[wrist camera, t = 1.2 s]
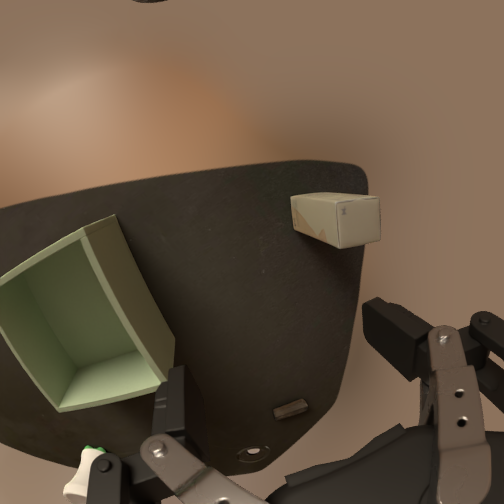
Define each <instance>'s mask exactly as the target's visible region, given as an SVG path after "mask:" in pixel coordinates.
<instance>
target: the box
mask: <svg viewBox="0 0 504 504" xmlns="http://www.w3.org/2000/svg"><path fill="white" fill-rule="evenodd" d="M291 209H292V218H293V226H294V230H296V231H299V232H301V233H304V234H306V235H309V236H311V237H313V238H316V239H318V240H320V241H323V242H325V243H328V244H330V245H332V246H334V247H337V248H339V249H342V248H348V247H354V246H359V245H364V244H368V243H372V242H376V241H380V237H381V219H380V198H379V197H377V196H368V195H356V194H343V193H328V192H322V193H311V194H303V195H296V196H291Z"/></svg>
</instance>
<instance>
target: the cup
mask: <svg viewBox="0 0 504 504" xmlns="http://www.w3.org/2000/svg"><path fill="white" fill-rule="evenodd" d="M103 453H106V451H105V450H104V449H103V448H101V447H99V448H97V449H93V448H92V447H91V446H86V447H85V448H84V450H83V451H82V455H81V463H80V466H79V469H78V471H77V473H76V474H75V476H74V478H73V479H72V480H71V481H70V482H69V483H67V484H66V485H65V488H64V491H63V495H64V497H65V498H66V499H67V500H68V501H70V502H71V503H73V504H86V499H87V489H88V481H89V473H90V467H91V464H92V462H93V460H94V459H95V458H96V457H97V456H99V455H101V454H103Z"/></svg>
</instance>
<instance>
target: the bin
mask: <svg viewBox="0 0 504 504" xmlns="http://www.w3.org/2000/svg"><path fill="white" fill-rule="evenodd" d="M0 332H1V334H2V336H3V337H4V339H5V341H6V342H7V344H8V345H9V347H10V349H11V350H12V352H13V353H14V355H15V356H16V358H17V359H18V361H19V362H20V364H21V365H22V367H23V368H24V370H25V371H26V372H27V374H28V375H29V376H30V378H31V379H32V380H33V382H34V383H35V384H36V386H37V387H38V388H39V389H40V391H41V392H42V393H43V394H44V396H45V397H46V398H47V399H48V400H49V402H50V403H51V404H52V405H53V406H54V407H55V409H56V410H57V411H58V412H66V411H72V410H78V409H83V408H88V407H93V406H98V405H103V404H108V403H112V402H117V401H121V400H125V399H129V398H133V397H137V396H141V395H145V394H148V393H152V392H156V390H157V389H158V387H159V385H160V384H161V382H165V381H168V371H169V369H170V368H173V362H174V349H175V337H174V335H173V334H172V332H171V330H170V328H169V327H168V325H167V323H166V321H165V319H164V318H163V316H162V314H161V312H160V310H159V308H158V307H157V305H156V303H155V301H154V299H153V297H152V295H151V293H150V291H149V289H148V287H147V285H146V283H145V281H144V279H143V277H142V275H141V273H140V271H139V269H138V267H137V264H136V262H135V260H134V258H133V256H132V253H131V251H130V249H129V247H128V245H127V242H126V240H125V238H124V235H123V233H122V231H121V228H120V226H119V223H118V221H117V218H116V216H115V215H113V216H110V217H107V218H105V219H102V220H100V221H97V222H95V223H92V224H90V225H87V226H85V227H82V228H81V229H79V230H77V231H75V232H73V233H71V234H70V235H68V236H66V237H64V238H63V239H61V240H59V241H57V242H56V243H54V244H52V245H50V246H49V247H47V248H45V249H44V250H42V251H40V252H39V253H37V254H36V255H34V256H32V257H31V258H29V259H28V260H26V261H25V262H23V263H21V264H20V265H18V266H17V267H15V268H14V269H12V270H11V271H9V272H8V273H6V274H5V275H4V276H2V277H1V278H0Z"/></svg>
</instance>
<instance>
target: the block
mask: <svg viewBox="0 0 504 504" xmlns="http://www.w3.org/2000/svg"><path fill="white" fill-rule="evenodd" d="M307 409H308V405H307V403H306V401H305V400H304V399H299V400H297V401H294V402H291V403H289V404H286V405H284V406H281V407H278V408H276V409H273V415H274V419H275V421H276V420H280V419H283V418H286V417H289V416H292V415H296V414H299V413H302V412H304V411H306V410H307Z"/></svg>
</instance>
